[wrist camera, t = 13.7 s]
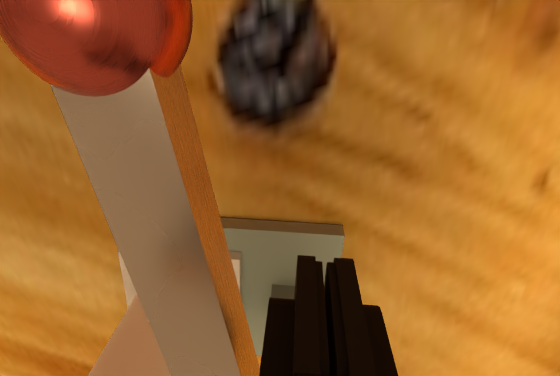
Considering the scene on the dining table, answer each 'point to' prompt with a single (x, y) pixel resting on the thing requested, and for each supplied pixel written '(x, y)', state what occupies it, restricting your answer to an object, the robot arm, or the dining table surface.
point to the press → (267, 262)
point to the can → (131, 348)
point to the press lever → (143, 164)
